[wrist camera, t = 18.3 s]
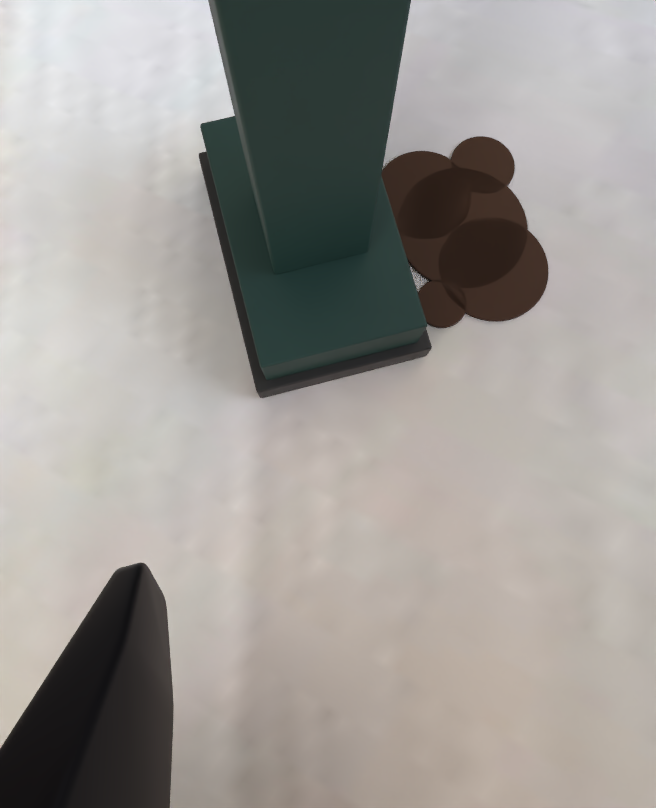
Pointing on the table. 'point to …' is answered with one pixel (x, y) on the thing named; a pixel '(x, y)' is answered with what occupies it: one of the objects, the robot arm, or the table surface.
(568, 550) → the table surface
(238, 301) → the wiper
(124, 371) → the table surface
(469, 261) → the coffee spill
